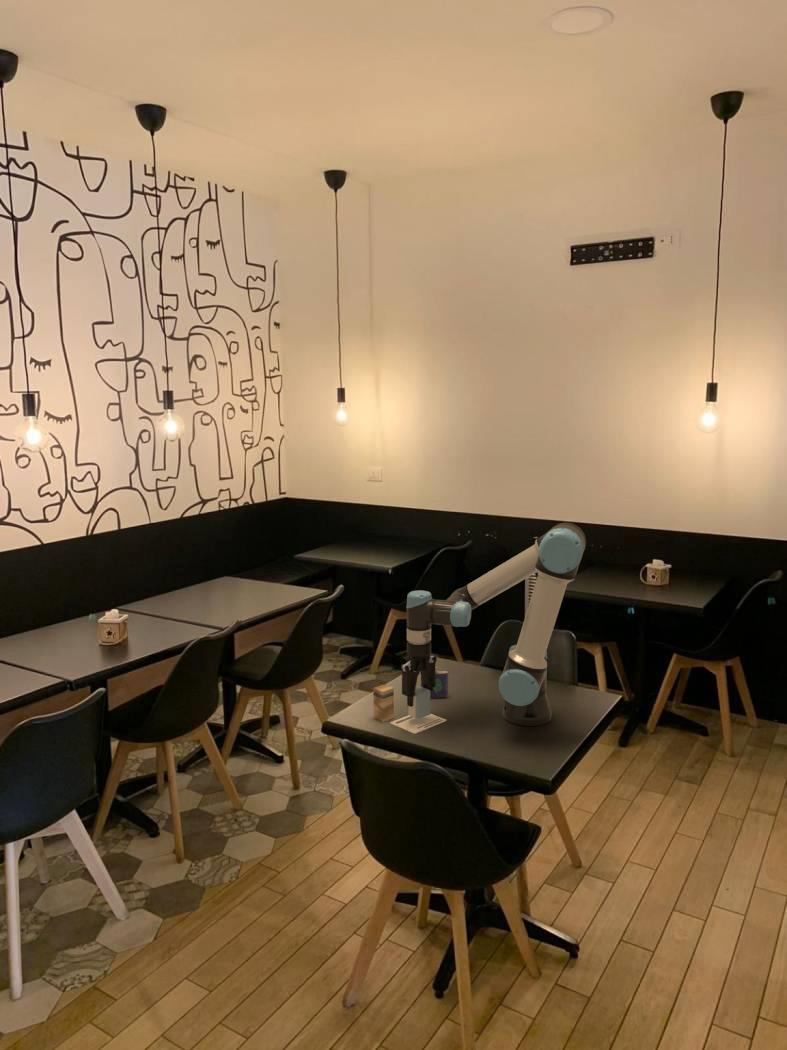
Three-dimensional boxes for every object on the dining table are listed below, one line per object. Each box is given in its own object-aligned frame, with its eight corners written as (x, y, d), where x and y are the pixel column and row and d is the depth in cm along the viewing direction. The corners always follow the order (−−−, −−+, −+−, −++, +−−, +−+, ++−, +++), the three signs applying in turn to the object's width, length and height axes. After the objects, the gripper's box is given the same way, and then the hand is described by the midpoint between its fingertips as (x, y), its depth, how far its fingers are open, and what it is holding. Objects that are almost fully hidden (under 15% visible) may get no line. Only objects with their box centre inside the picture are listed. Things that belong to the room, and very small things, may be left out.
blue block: (430, 714, 246) (430, 690, 245) (418, 719, 243) (418, 694, 242) (418, 710, 250) (418, 685, 249) (407, 714, 247) (407, 689, 245)
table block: (394, 718, 250) (393, 688, 248) (383, 722, 247) (382, 691, 245) (384, 714, 253) (383, 684, 251) (373, 718, 250) (373, 687, 248)
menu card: (446, 720, 247) (446, 719, 247) (414, 734, 238) (414, 733, 238) (421, 711, 255) (421, 710, 255) (390, 723, 246) (390, 722, 246)
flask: (448, 695, 268) (448, 665, 266) (448, 698, 265) (448, 668, 263) (421, 695, 268) (420, 665, 267) (420, 698, 265) (420, 668, 264)
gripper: (406, 650, 234) (406, 724, 238) (448, 637, 246) (447, 708, 250) (389, 644, 239) (389, 717, 243) (430, 632, 251) (430, 701, 255)
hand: (418, 712), depth 246 cm, fingers closed on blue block, 5 cm apart
